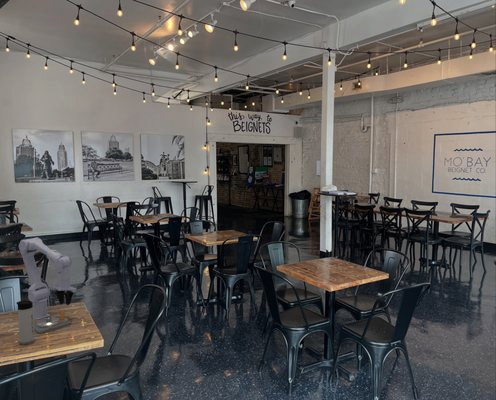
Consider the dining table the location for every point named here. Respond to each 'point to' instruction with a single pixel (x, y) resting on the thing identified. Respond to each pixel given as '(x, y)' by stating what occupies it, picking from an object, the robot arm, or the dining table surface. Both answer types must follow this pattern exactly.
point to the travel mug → (25, 322)
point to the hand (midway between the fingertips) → (65, 304)
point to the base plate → (50, 327)
